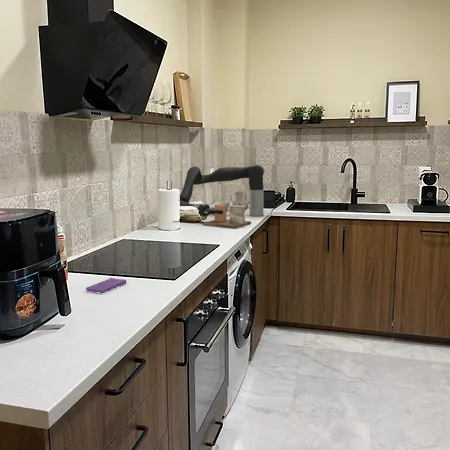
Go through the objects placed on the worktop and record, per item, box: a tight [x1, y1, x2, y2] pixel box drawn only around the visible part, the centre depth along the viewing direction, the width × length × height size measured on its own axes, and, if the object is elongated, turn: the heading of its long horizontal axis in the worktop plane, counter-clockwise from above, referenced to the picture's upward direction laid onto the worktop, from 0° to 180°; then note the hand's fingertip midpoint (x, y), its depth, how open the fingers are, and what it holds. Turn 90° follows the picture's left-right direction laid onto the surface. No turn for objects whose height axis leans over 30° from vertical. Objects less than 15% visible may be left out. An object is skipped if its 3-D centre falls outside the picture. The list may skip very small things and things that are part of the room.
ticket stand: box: [203, 204, 252, 230], centre depth 273 cm, size 18×22×12 cm
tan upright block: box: [214, 203, 227, 222], centre depth 275 cm, size 4×6×10 cm, turn 57°
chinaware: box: [218, 187, 250, 210], centre depth 335 cm, size 28×17×17 cm, turn 128°
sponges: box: [85, 277, 127, 294], centre depth 157 cm, size 7×13×2 cm, turn 154°
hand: (224, 211), depth 273 cm, fingers closed on tan upright block, 3 cm apart
